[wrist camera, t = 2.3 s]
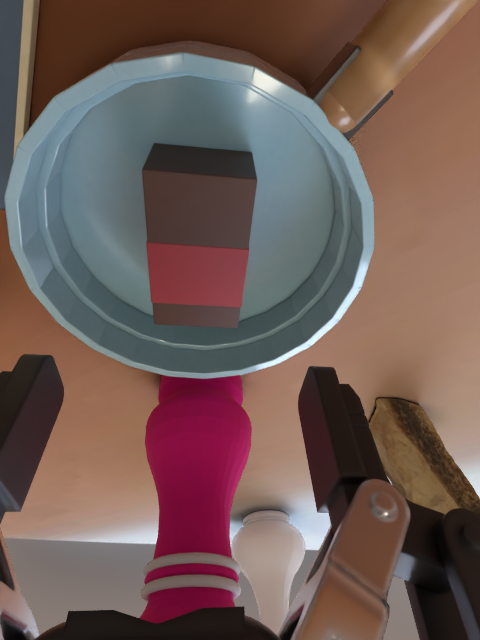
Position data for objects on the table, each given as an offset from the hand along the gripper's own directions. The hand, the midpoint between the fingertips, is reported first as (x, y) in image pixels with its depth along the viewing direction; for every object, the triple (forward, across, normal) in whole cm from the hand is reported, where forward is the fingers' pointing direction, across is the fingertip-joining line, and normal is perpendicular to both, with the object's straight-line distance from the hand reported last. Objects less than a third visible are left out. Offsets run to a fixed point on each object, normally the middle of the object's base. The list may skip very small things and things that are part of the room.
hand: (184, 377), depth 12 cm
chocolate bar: (+10, 0, 0) cm, 10 cm away
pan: (+10, 0, 0) cm, 10 cm away
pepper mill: (+10, -1, +13) cm, 17 cm away
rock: (+10, -18, +20) cm, 29 cm away
